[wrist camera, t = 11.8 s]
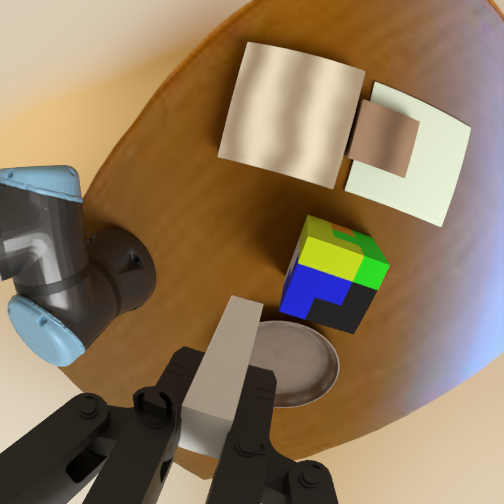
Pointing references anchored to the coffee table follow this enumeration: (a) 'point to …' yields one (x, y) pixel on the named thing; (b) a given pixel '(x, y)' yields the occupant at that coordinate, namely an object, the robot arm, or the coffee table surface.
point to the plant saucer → (295, 361)
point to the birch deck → (291, 113)
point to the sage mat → (416, 161)
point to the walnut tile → (382, 138)
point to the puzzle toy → (332, 275)
